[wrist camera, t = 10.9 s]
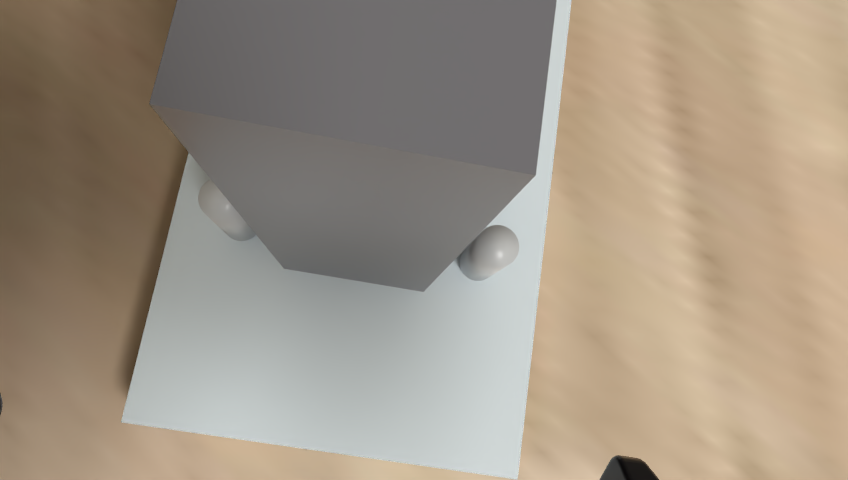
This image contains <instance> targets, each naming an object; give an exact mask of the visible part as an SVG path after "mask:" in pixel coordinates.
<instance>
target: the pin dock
mask: <svg viewBox="0 0 848 480" xmlns="http://www.w3.org/2000/svg"><path fill="white" fill-rule="evenodd" d="M570 9H571V0H557V1H556V10H555V18H554V27H553V35H552V43H551V52H550V60H549V69H548V77H547V86H546V94H545V102H544V111H543V119H542V128H541V136H540V144H539V153H538V161H537V170H536V176H535V177H534V178H533V179H532V180H531V181H530V182H529V183H528V184H527V185H526V186H525V187H524V188H523V189H522V190H521V191H520V192H519V193H518V194H517V195H516V196H515V197H514V198H513V199H512V201H511V202H510V203H509V204H508V205H507V206H506V207H505V208H504V209H503V210H502V211H501V212H500V213H499V214H498V215H497V216H496V217H495V218H494V219H493V220H492V221H491V222H490V223H489V224H488V225H487V226H486V228H485V229H484V230H483V231H482V232H481V233H480V234H479V235H478V236H477V237H476V238H475V239H474V240H473V241H472V242H471V243H470V244H469V245H468V246H467V247H466V248H465V249H464V250H463V251H462V252H461V254H460V255H459V256H458V257H457V258H456V259H455V260H454V261H453V262H452V263H451V264H450V265H449V266H448V267H447V268H446V269H445V270H444V271H443V272H442V273H441V274H440V275H439V276H438V277H437V278H436V280H435V281H434V282H433V283H432V284H431V285H430V286H429V287H428V288H427V289H426V290H425V291H424V292H421V291H415V290H409V289H403V288H397V287H391V286H385V285H379V284H373V283H367V282H361V281H355V280H349V279H343V278H337V277H331V276H325V275H319V274H313V273H307V272H301V271H295V270H289V269H284V268H283V267H282V266H281V264H280V263H279V262H278V261H277V260H276V258H275V257H274V256H273V255H272V253H271V252H270V251H269V250H268V249H267V247H266V246H265V245H264V244H263V242H262V241H261V240H260V239H259V238H258V236H257V235H256V234H255V233H254V231H253V230H252V229H251V228H250V227H249V225H248V224H247V223H246V222H245V220H244V219H243V218H242V217H241V216H240V214H239V213H238V212H237V211H236V209H235V208H234V207H233V206H232V205H231V203H230V202H229V201H228V200H227V198H226V197H225V196H224V195H223V194H222V192H221V191H220V190H219V189H218V187H217V186H216V185H215V184H214V183H213V181H212V180H211V179H210V178H209V176H208V175H207V174H206V173H205V172H204V170H203V169H202V168H201V167H200V165H199V164H198V163H197V162H196V161H195V159H194V158H193V157H192V156H191V154H190V153H188V157H187V161H186V165H185V169H184V173H183V177H182V181H181V185H180V189H179V193H178V197H177V201H176V205H175V209H174V213H173V217H172V221H171V225H170V229H169V233H168V237H167V241H166V245H165V249H164V253H163V256H162V260H161V264H160V268H159V272H158V276H157V280H156V284H155V288H154V292H153V296H152V300H151V304H150V308H149V312H148V316H147V320H146V324H145V328H144V332H143V336H142V340H141V344H140V348H139V352H138V356H137V360H136V364H135V368H134V372H133V376H132V380H131V384H130V388H129V392H128V396H127V400H126V404H125V408H124V412H123V416H122V420H121V422H123V423H130V424H136V425H143V426H150V427H157V428H164V429H171V430H178V431H185V432H192V433H199V434H206V435H213V436H220V437H227V438H233V439H240V440H247V441H254V442H261V443H268V444H275V445H282V446H289V447H296V448H303V449H310V450H317V451H324V452H331V453H337V454H344V455H351V456H358V457H365V458H372V459H379V460H386V461H393V462H400V463H407V464H414V465H421V466H428V467H434V468H441V469H448V470H455V471H462V472H469V473H476V474H483V475H490V476H497V477H504V478H511V479H518V471H519V462H520V454H521V445H522V436H523V427H524V418H525V409H526V400H527V391H528V382H529V373H530V365H531V356H532V347H533V338H534V329H535V320H536V311H537V302H538V293H539V284H540V276H541V267H542V258H543V249H544V240H545V231H546V222H547V213H548V204H549V196H550V187H551V178H552V169H553V160H554V151H555V142H556V133H557V124H558V115H559V107H560V98H561V89H562V80H563V71H564V62H565V53H566V44H567V35H568V27H569V18H570Z"/></svg>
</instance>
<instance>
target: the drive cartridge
mask: <svg viewBox="0 0 848 480" xmlns="http://www.w3.org/2000/svg"><path fill="white" fill-rule="evenodd" d="M556 1H557V0H177V3H176V7H175V11H174V15H173V18H172V22H171V26H170V29H169V33H168V37H167V40H166V44H165V48H164V51H163V55H162V59H161V63H160V66H159V70H158V74H157V77H156V81H155V85H154V88H153V92H152V96H151V100H150V103H149V104H150V106H151V107H152V108H153V109H154V110H155V112H156V113H157V114H158V115H159V117H160V118H161V119H162V120H163V121H164V123H165V124H166V125H167V126H168V128H169V129H170V130H171V131H172V132H173V134H174V135H175V136H176V137H177V139H178V140H179V141H180V142H181V143H182V145H183V146H184V147H185V148H186V150H187V151H188V152H189V153H190V154H191V156H192V157H193V158H194V159H195V161H196V162H197V163H198V164H199V165H200V167H201V168H202V169H203V170H204V172H205V173H206V174H207V175H208V176H209V178H210V179H211V180H212V181H213V183H214V184H215V185H216V186H217V187H218V189H219V190H220V191H221V192H222V194H223V195H224V196H225V197H226V198H227V200H228V201H229V202H230V203H231V205H232V206H233V207H234V208H235V209H236V211H237V212H238V213H239V214H240V216H241V217H242V218H243V219H244V220H245V222H246V223H247V224H248V225H249V227H250V228H251V229H252V230H253V231H254V233H255V234H256V235H257V236H258V238H259V239H260V240H261V241H262V242H263V244H264V245H265V246H266V247H267V249H268V250H269V251H270V252H271V253H272V255H273V256H274V257H275V258H276V260H277V261H278V262H279V263H280V264H281V266H282V267H283V268H284V269H289V270H295V271H301V272H307V273H313V274H319V275H325V276H331V277H337V278H343V279H349V280H355V281H361V282H367V283H373V284H379V285H385V286H391V287H397V288H403V289H409V290H415V291H421V292H424V291H425V290H426V289H427V288H428V287H429V286H430V285H431V284H432V283H433V282H434V281H435V280H436V278H437V277H438V276H439V275H440V274H441V273H442V272H443V271H444V270H445V269H446V268H447V267H448V266H449V265H450V264H451V263H452V262H453V261H454V260H455V259H456V258H457V257H458V256H459V255H460V254H461V252H462V251H463V250H464V249H465V248H466V247H467V246H468V245H469V244H470V243H471V242H472V241H473V240H474V239H475V238H476V237H477V236H478V235H479V234H480V233H481V232H482V231H483V230H484V229H485V228H486V226H487V225H488V224H489V223H490V222H491V221H492V220H493V219H494V218H495V217H496V216H497V215H498V214H499V213H500V212H501V211H502V210H503V209H504V208H505V207H506V206H507V205H508V204H509V203H510V202H511V201H512V199H513V198H514V197H515V196H516V195H517V194H518V193H519V192H520V191H521V190H522V189H523V188H524V187H525V186H526V185H527V184H528V183H529V182H530V181H531V180H532V179H533V178H534V177H535V176H536V170H537V161H538V153H539V144H540V136H541V128H542V119H543V111H544V102H545V94H546V86H547V77H548V69H549V60H550V52H551V43H552V35H553V27H554V18H555V10H556Z"/></svg>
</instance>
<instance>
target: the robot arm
mask: <svg viewBox="0 0 848 480" xmlns="http://www.w3.org/2000/svg"><path fill="white" fill-rule="evenodd" d="M1 411H2V398H1V394H0V415H1ZM600 480H659V479H658V477H657V476H656V475H655V474H654V473H653V471H652V470H651V469H650V468H649V466H648V465H647V464H646V463H645V462H644V461H642V460H641V459H638V458H633V457H627V456H620V455H618V456H615V457H613V458H612V459H611V460H610V462H609V464H608V466H607V467H606V469H605V471H604V473H603V475H602V476H601V478H600Z"/></svg>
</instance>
